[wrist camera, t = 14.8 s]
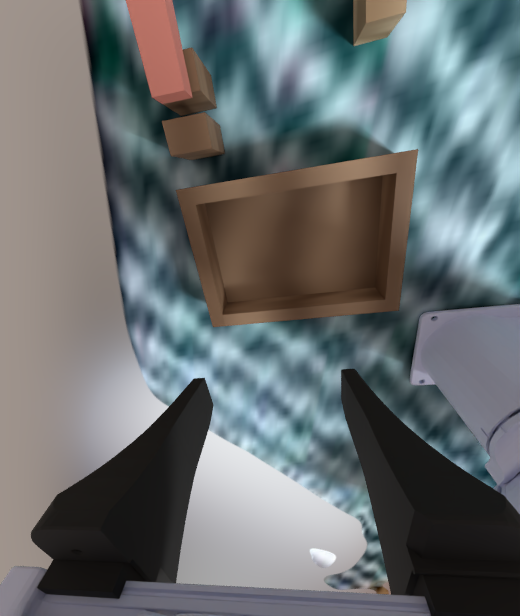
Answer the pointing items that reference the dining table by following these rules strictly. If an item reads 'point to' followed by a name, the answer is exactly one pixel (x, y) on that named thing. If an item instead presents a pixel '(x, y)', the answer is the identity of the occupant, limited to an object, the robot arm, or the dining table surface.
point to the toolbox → (291, 227)
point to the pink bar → (160, 49)
